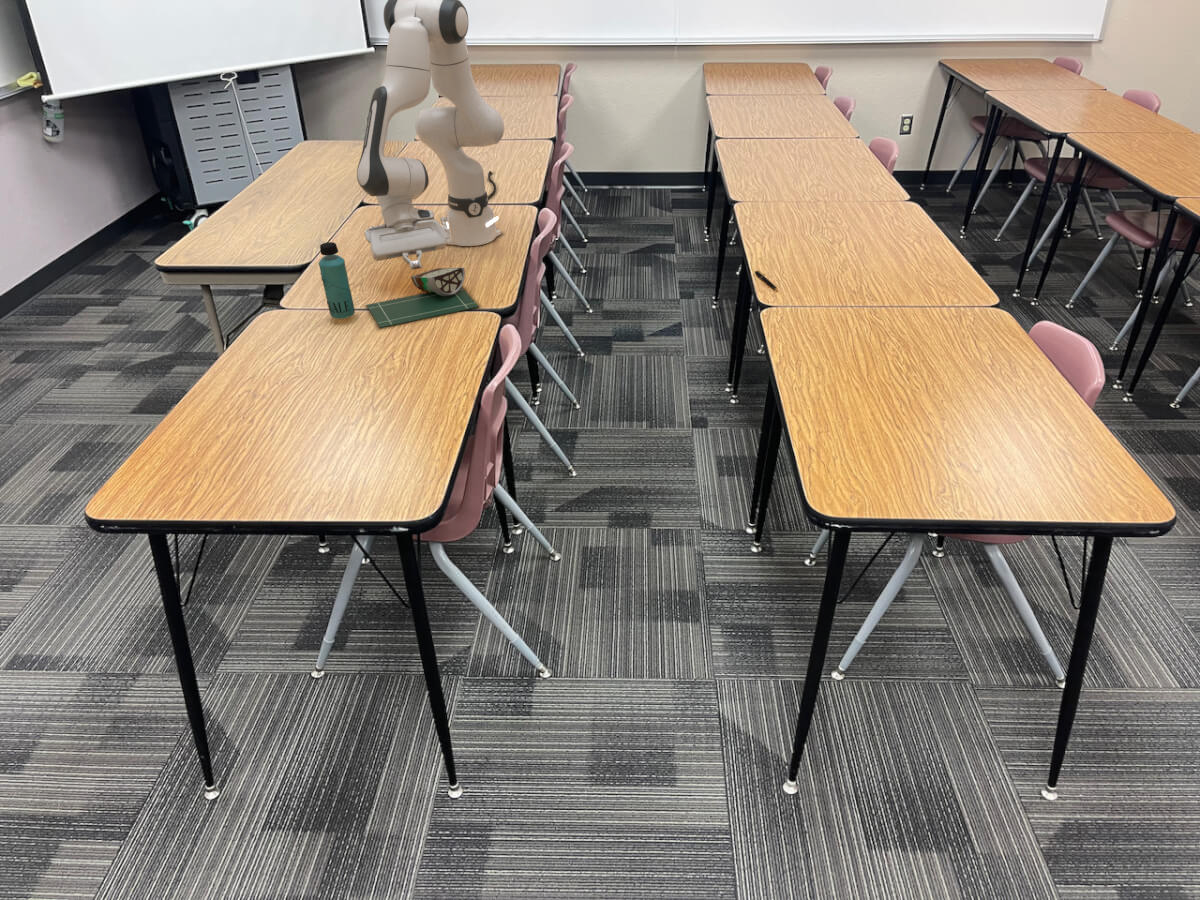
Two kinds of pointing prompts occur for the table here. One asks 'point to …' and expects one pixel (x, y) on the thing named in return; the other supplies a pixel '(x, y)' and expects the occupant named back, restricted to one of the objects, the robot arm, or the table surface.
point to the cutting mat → (419, 307)
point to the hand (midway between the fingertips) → (416, 268)
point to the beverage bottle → (335, 282)
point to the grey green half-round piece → (440, 280)
